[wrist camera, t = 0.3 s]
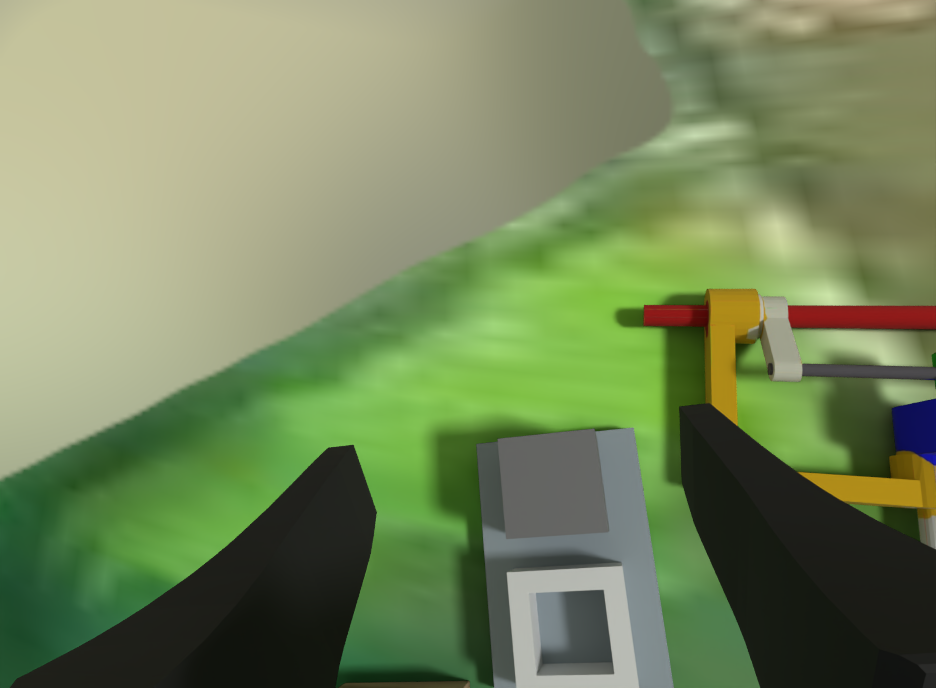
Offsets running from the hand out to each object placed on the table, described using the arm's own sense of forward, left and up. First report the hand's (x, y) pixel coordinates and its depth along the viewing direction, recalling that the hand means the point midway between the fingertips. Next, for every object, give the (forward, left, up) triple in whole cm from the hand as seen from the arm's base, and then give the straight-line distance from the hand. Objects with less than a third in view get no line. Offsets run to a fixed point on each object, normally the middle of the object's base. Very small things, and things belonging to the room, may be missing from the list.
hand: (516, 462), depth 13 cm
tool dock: (-4, +2, -30) cm, 30 cm away
